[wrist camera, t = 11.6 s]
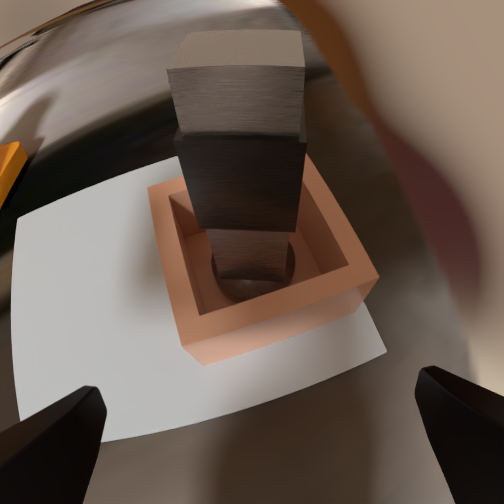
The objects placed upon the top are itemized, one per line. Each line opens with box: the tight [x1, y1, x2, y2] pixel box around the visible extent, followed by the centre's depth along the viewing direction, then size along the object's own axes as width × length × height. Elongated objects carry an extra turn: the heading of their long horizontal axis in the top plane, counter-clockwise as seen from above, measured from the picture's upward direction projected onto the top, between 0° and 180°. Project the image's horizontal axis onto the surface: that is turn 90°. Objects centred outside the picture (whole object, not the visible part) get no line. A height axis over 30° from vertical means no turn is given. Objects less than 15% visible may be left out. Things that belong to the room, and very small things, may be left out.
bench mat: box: [11, 156, 387, 442], centre depth 19 cm, size 18×22×1 cm
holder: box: [147, 153, 379, 366], centre depth 16 cm, size 8×8×4 cm
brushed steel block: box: [166, 30, 307, 303], centre depth 12 cm, size 4×4×12 cm
